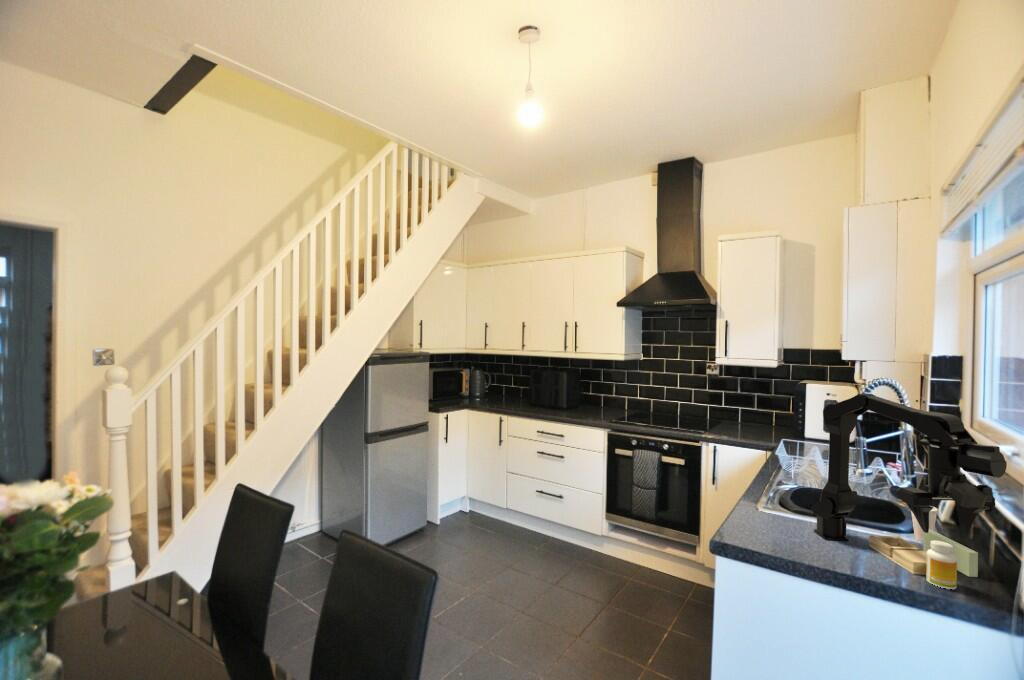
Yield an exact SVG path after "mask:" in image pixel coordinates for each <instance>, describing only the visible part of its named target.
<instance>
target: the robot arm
mask: <svg viewBox="0 0 1024 680" xmlns="http://www.w3.org/2000/svg"><path fill="white" fill-rule="evenodd" d="M868 411H870V412H873V413H875V414H879V415H881V416H883V417H886V418H890V419H893V420H894V421H895V420H896V421H898V422H901V423H903V424H907V425H908V426H910V427H912V428H913V429H915V430H916V432H919V433H920V434H922V435H924V437H923V438H922V439H920V440H919V441H917V442H916V444H917V446H923V447H927V468H926V467H925V468H923V473H925V474H928V475H927V476H928V479H927V481H928V484H924V485H923V489H924V490H923V489H921V488H916V487H915V486H911V487H910V486H907V487H905V486H903V487H899V488H897V489H896V495H895V496H896V499H898V500H900V501H901V502H902V503H905V504H906V505H907V506H908V508H909V510H910V511H912V512H913V514H914V516H915V517H916V519H917V521H918V523H919V525H920V527H921V528H922V530H923V532H925V533H928V531H929V512H930V511H931V510H932V509H933V507H934V506H932V505H931V504H932V503H933V501H955V505H956V510H957V516H958V521H959V525H960V530H961V532H962V533H964V534H969V532H970V530H971V528H972V526H973V523H974V522H975V520H976V519H977V516H978V515H979V513H982V512H983V511H986V510H990V507H996V498H995V497H994V494H993V493H994V492H993V488H992V487H991V486H989V484H978V485H976V484H971V483H968V478H967V475H966V474H965V473H961V469H962V470H963V471H964V472H967V473H972V474H976V475H981V476H987V477H993V478H996V479H997V478H998V479H1000V478H1001V477H1003V476H1004V474H1005V473H1006V471H1007V460H1006V459H1005V456H1004V454H1003V453H1002V452H1001V451H1000V446H997V445H985V444H979V443H978V442H977V440H976V439H975V438H974V437H973V435H971V434H970V432H969V431H968V430H967V429H966V428H965V424H964V422H963V421H962V419H961V418H960V417H959V416H957V415H954V414H950V413H943V412H937V411H930V410H929V411H928V410H921V409H917V408H914V407H911V406H907V405H905V404H902V403H899V402H895V401H892V400H890V399H886V398H883V397H879V396H876V395H875V394H873V393H858V394H856V395H854V396H852V397H850V398H848V399H844V400H842V401H838V402H836V403H829V404H826V406H824V408H823V410H822V417H823V423H824V426H825V428H826V429H827V431H828V433H829V435H828V436H829V437H828V442H829V443H828V470H827V475H828V476H827V477H828V478H827V482H826V484H825V485H824V486H823V488H822V490H821V494H820V499H819V501H818V502H816V503H815V504H813V505H812V506H811V510H812V514H813V515H815V516H816V529H815V528H814V529H813V532H814V533H815V534H817V535H818V536H820V537H821V538H823V539H824V540H827V541H828V540H829V541H849V537H847V522H846V517H849V516H850V513H851V512H853V511H854V510H855V508H856V506H858V501H857V498H858V492H857V491H856V490H852V488H851V486H850V484H849V478H850V477H849V475H850V474H849V473H850V471H849V469H850V445H851V444H850V443H851V439H850V438H851V434H852V432H853V431H854V430H855V427H856V426H857V422H858V418H859V416H862V415H864V414H865V413H867V412H868Z"/></svg>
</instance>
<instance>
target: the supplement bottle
mask: <svg viewBox="0 0 1024 680" xmlns="http://www.w3.org/2000/svg"><path fill="white" fill-rule="evenodd" d="M930 546H931V548H932V549H929V550H928V551H927V556H926V575H925V579H926V581H927V582H928V583H929V584H930V585H932V584H933V585H932V586H934V585H935V586H934V587H937V586H938V587H937V588H940V587H941V589H943V588H946V589H945V590H950V589H952V590H956V589H957V587H958V579H957V577H958V576H957V575H958V570H957V558H956V557H955V556H954V555H953V554H952V553H953V546H952V545H951V544H948V543H946V542H942V541H935V540H933V541H931V542H930Z"/></svg>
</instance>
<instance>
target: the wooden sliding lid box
mask: <svg viewBox="0 0 1024 680" xmlns="http://www.w3.org/2000/svg"><path fill="white" fill-rule="evenodd" d="M868 541H869V542H868V543H869V544H868V546H869V547H870V548H872V549H874V551H876V552H878V553H880V554H881V555H882V556H885V557H886V558H887V559H889V560H890V561H892V562H894V563H895V564H897V565H898V566H900V567H901V568H903V569H905V570H906V571H908V572H909V573H911V574H912V575H922V576H923V575H924V576H926V556H927V552H926V551H924V550H923V549H922V548H920V547H919V546H918V545H914V543H911V542H910V541H908V540H907V539H904V538H903V537H900V536H894V535H893V536H889V535H868Z"/></svg>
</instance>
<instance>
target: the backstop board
mask: <svg viewBox="0 0 1024 680" xmlns="http://www.w3.org/2000/svg"><path fill="white" fill-rule="evenodd" d="M933 540H935V541H942V542H946V543H948V544H951V545H952V546H953V553H952V554H953V555H954V556H955V557H956V558H957V572H960V573H962V574H964V575H965V576H967V577H969V578H978V576H979V575H978V573H979V572H978V571H979V562H978V561H979V552H977V551H975V550H973V549H972V548H969V547H967V546H965V545H964V544H961V543H959V542H957V541H956V540H955V541H954V540H953V539H952V538H951V539H950V538H948V537H947V536H944V535H942V534H940V533H938V532H937V531H935V530H934V531H933V530H929V531H928V533H925V532H924V542H923V551H926V552H927V551H928V550H929V549H932V548H931V546H930V542H931V541H933Z"/></svg>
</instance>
